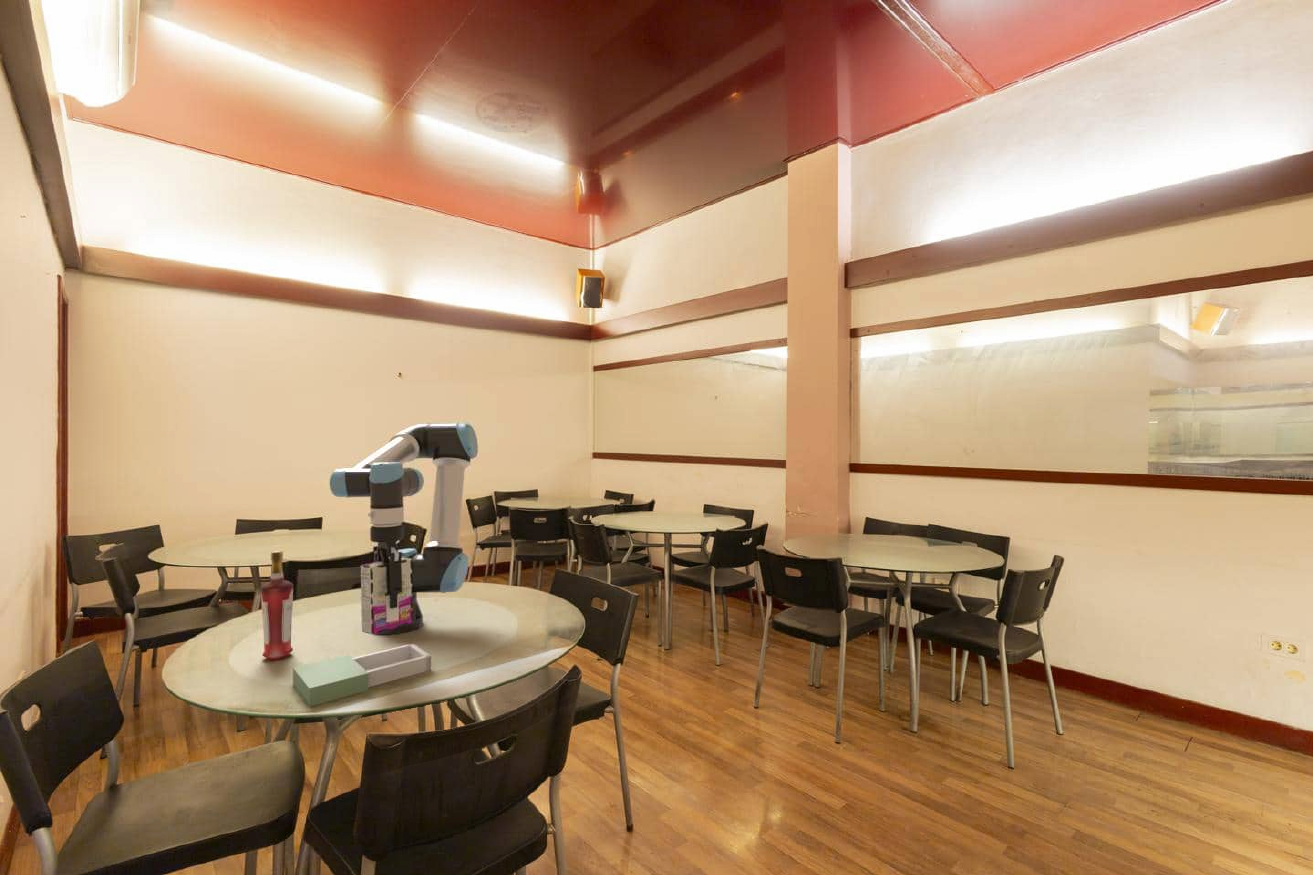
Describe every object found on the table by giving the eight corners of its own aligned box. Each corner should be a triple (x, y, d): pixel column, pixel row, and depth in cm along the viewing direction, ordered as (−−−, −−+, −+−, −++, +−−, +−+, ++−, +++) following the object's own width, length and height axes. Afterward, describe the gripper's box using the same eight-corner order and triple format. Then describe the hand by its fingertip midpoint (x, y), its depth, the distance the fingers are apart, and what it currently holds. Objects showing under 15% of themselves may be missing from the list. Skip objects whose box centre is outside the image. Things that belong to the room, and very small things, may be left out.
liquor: (264, 654, 159) (263, 550, 159) (296, 650, 162) (295, 548, 162) (258, 663, 153) (257, 555, 153) (291, 659, 156) (290, 553, 155)
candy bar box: (401, 619, 153) (401, 556, 153) (413, 622, 150) (413, 558, 150) (359, 631, 143) (359, 564, 143) (371, 635, 141) (371, 566, 141)
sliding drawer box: (293, 684, 140) (292, 667, 140) (410, 654, 158) (409, 639, 158) (309, 706, 128) (309, 688, 128) (434, 672, 147) (433, 655, 147)
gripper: (359, 522, 151) (359, 612, 151) (384, 530, 137) (384, 630, 137) (389, 519, 156) (390, 607, 156) (416, 526, 142) (417, 623, 142)
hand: (387, 617), depth 147 cm, fingers closed on candy bar box, 6 cm apart
